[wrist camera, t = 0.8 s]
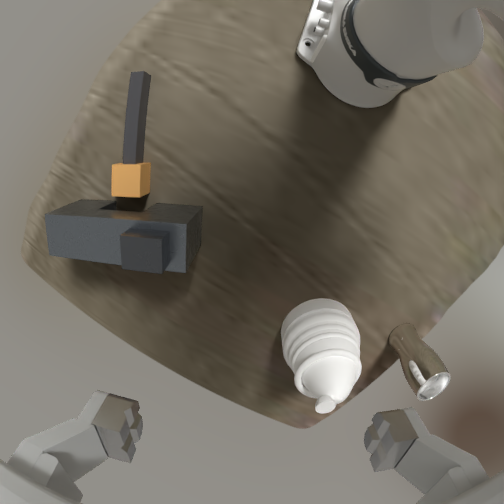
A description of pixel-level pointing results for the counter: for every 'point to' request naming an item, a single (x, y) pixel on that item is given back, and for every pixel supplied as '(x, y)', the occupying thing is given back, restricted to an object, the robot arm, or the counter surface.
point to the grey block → (126, 235)
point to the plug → (134, 142)
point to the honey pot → (322, 351)
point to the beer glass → (419, 362)
